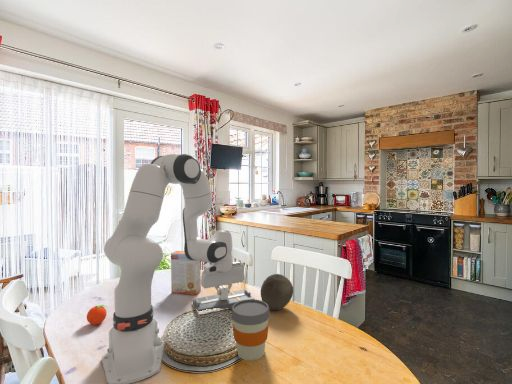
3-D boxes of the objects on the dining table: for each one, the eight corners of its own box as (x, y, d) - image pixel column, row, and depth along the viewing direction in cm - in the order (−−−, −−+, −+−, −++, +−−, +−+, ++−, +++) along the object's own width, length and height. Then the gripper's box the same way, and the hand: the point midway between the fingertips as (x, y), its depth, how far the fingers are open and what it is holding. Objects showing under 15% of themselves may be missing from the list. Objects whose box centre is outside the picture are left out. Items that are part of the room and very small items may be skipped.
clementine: (106, 316, 113) (106, 300, 112) (111, 322, 108) (111, 305, 107) (85, 323, 107) (84, 306, 107) (89, 330, 102) (88, 312, 102)
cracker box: (201, 290, 139) (200, 251, 139) (196, 295, 134) (195, 254, 133) (176, 288, 142) (176, 250, 142) (171, 293, 137) (170, 252, 136)
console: (254, 303, 124) (254, 295, 124) (198, 315, 113) (198, 306, 113) (244, 294, 135) (244, 286, 135) (192, 304, 124) (192, 295, 123)
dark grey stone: (270, 319, 109) (269, 283, 109) (256, 305, 122) (255, 272, 122) (298, 312, 115) (298, 277, 115) (282, 299, 128) (282, 268, 128)
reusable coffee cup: (239, 368, 80) (239, 319, 79) (227, 345, 91) (226, 302, 91) (276, 357, 85) (276, 311, 84) (260, 337, 96) (259, 296, 96)
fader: (227, 299, 122) (227, 288, 122) (222, 300, 121) (222, 289, 121) (224, 295, 126) (224, 285, 126) (219, 296, 125) (219, 286, 125)
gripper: (241, 259, 131) (241, 287, 131) (199, 265, 122) (200, 295, 122) (246, 263, 125) (246, 292, 125) (203, 269, 116) (203, 300, 116)
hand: (223, 293), depth 124 cm, fingers closed on fader, 3 cm apart
